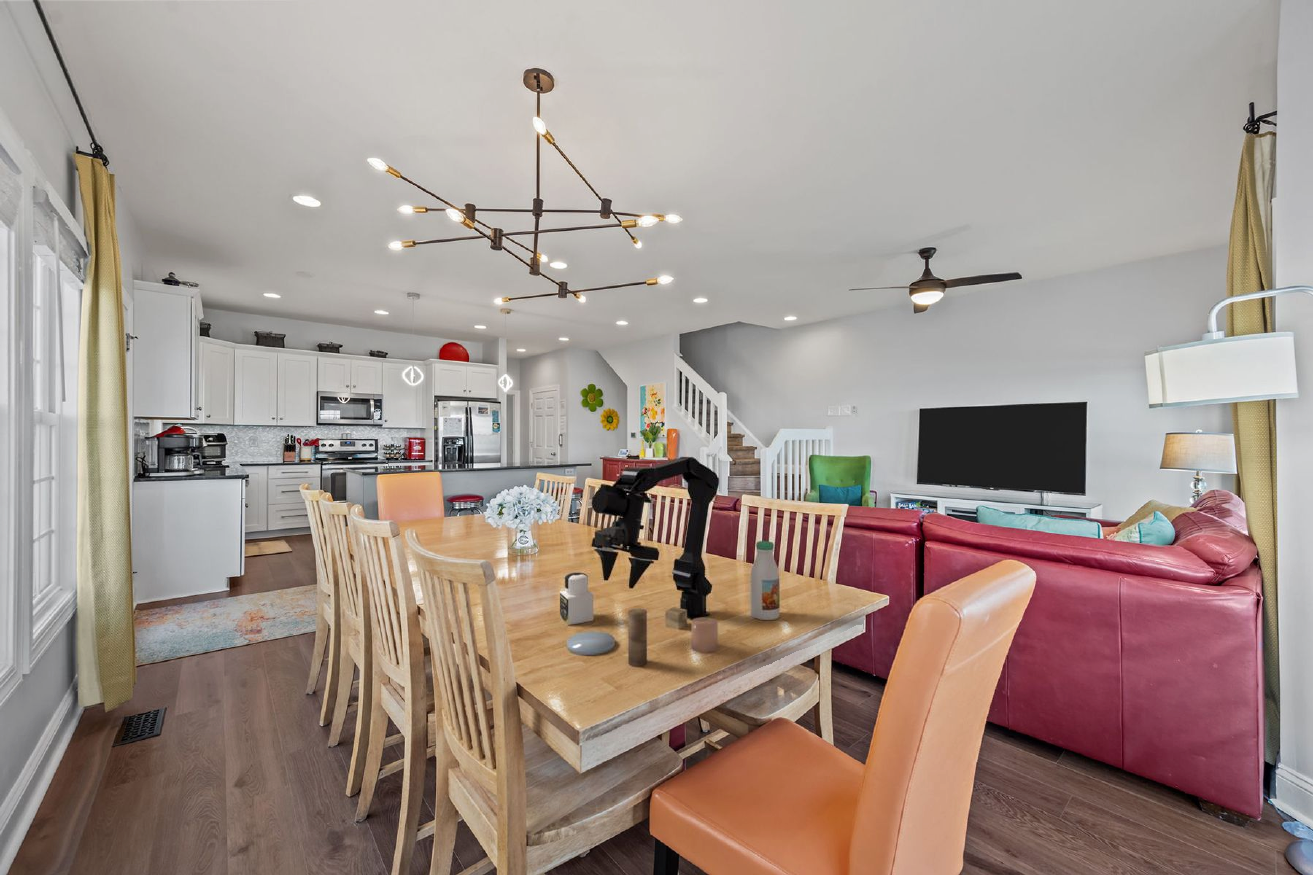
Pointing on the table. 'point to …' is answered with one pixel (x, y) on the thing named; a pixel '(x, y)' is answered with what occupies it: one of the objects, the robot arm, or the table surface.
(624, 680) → the table surface
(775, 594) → the milk bottle
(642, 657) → the brown cylinder
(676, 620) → the oak block
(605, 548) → the robot arm
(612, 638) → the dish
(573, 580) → the medicine bottle
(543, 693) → the table surface
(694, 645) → the short mauve cylinder
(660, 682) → the table surface
